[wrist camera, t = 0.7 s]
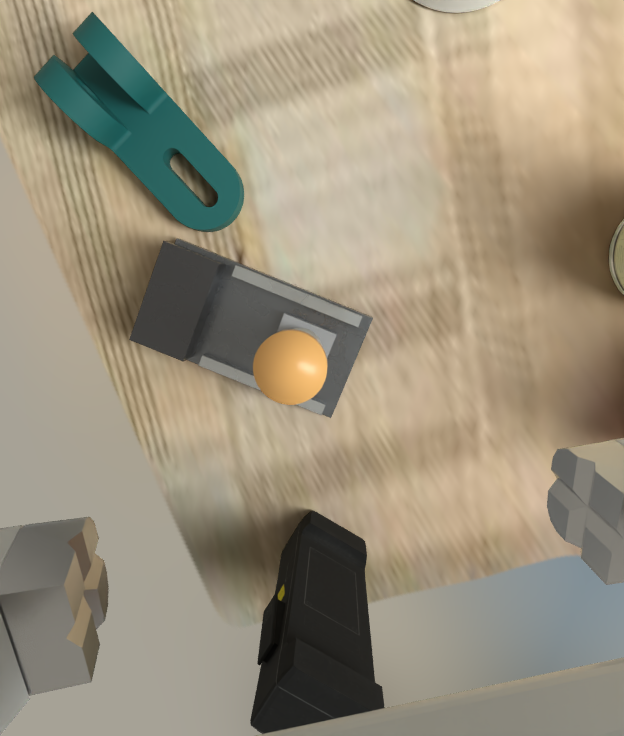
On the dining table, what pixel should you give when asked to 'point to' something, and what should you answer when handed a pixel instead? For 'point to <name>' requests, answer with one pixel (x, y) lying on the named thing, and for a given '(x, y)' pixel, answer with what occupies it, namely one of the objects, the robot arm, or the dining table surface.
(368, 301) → the dining table surface
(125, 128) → the bracket
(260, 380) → the knob
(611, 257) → the coffee can
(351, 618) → the portable radio
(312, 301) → the mount
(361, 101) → the dining table surface
